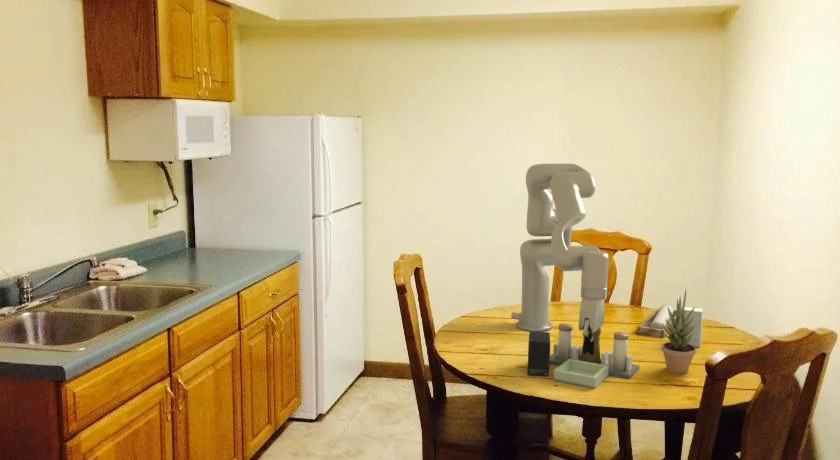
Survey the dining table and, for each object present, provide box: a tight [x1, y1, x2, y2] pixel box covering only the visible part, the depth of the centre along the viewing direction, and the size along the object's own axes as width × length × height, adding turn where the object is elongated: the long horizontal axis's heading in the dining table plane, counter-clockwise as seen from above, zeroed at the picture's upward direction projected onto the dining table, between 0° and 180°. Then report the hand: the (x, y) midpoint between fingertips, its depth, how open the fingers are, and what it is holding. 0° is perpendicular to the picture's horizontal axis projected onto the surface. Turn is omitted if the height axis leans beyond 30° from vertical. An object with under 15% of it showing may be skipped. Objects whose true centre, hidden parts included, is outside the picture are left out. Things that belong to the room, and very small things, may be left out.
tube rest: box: [636, 307, 677, 338], centre depth 263 cm, size 9×30×2 cm, turn 148°
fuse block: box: [549, 323, 641, 380], centre depth 219 cm, size 26×10×11 cm, turn 58°
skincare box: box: [684, 306, 704, 348], centre depth 240 cm, size 6×4×12 cm
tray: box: [553, 359, 609, 390], centre depth 209 cm, size 12×12×3 cm
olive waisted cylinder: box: [580, 327, 602, 364], centre depth 219 cm, size 6×6×11 cm
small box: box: [526, 331, 551, 377], centre depth 215 cm, size 11×6×10 cm, turn 170°
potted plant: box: [661, 288, 697, 374], centre depth 214 cm, size 10×10×25 cm
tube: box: [649, 304, 675, 329], centre depth 263 cm, size 5×5×25 cm
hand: (591, 350), depth 220 cm, fingers closed on olive waisted cylinder, 4 cm apart
